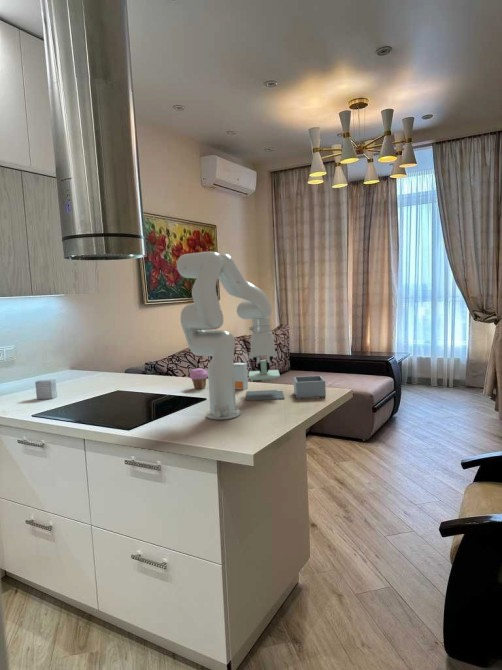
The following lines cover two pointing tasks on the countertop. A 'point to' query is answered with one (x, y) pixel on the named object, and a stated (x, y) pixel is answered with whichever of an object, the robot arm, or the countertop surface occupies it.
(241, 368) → the skincare box
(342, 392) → the countertop surface
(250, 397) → the mat
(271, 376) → the lid
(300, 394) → the tub
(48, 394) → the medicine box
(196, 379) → the cupcake
